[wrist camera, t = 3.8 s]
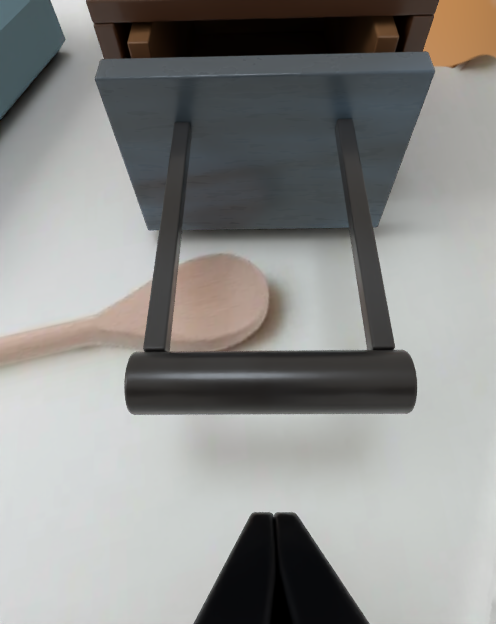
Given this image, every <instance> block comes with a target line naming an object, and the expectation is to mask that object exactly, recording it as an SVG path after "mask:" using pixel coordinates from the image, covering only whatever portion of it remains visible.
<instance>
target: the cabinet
mask: <svg viewBox="0 0 496 624" xmlns="http://www.w3.org/2000/svg"><path fill="white" fill-rule="evenodd" d="M438 2H439V0H86V3H87V6H88V9H89V12H90V16H91V19H92V21H93V23H94V28H95V31H96V35H97V38H98V41H99V44H100V47H101V50H102V53H103V56H104V59H126V58H131V55H130V51H129V48H128V44H127V43H128V39H129V35H130V31H131V27H132V23H133V22H164V21H204V20H243V19H282V18H322V17H361V16H393V19H394V22H395V25H396V28H397V31H398V34H399V39H398V43H397V46H396V50H395V52H423V49H424V45H425V42H426V39H427V36H428V33H429V30H430V27H431V24H432V21H433V18H434V15H433V14H434V13H435V11H436V8H437V5H438Z"/></svg>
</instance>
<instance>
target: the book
mask: <svg viewBox="0 0 496 624" xmlns="http://www.w3.org/2000/svg"><path fill="white" fill-rule="evenodd" d="M64 41H65V37H64V35H63V32H62V29H61V27H60V24H59V22H58V19H57V16H56V14H55V11H54V9H53V6H52V3H51V1H50V0H0V120H1V119H2V117H3V116H4V115H5V114H6V113H7V112H8V110H9V109H10V108H11V107H12V106H13V104H14V103H15V102H16V101H17V100H18V98H19V97H20V96H21V95H22V94H23V93H24V91H25V90H26V89H27V88H28V87H29V85H30V84H31V83H32V82H33V81H34V79H35V78H36V77H37V76H38V75H39V74H40V72H41V71H42V70H43V69H44V68H45V66H46V65H47V64H48V63H49V62H50V60H51V59H52V58H53V57H54V56H55V55H56V53H57V52H58V51H59V49H60V48H61V46H62V44H63V43H64Z"/></svg>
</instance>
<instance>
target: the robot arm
mask: <svg viewBox="0 0 496 624" xmlns="http://www.w3.org/2000/svg"><path fill="white" fill-rule="evenodd" d="M194 624H369V622H368V621H367V619H366V618H365V616H364V615H363V613H362V612H361V610H360V609H359V607H358V606H357V604H356V603H355V601H354V600H353V598H352V597H351V595H350V594H349V592H348V591H347V589H346V588H345V586H344V585H343V583H342V582H341V580H340V579H339V577H338V576H337V574H336V573H335V571H334V570H333V568H332V567H331V565H330V564H329V562H328V561H327V559H326V558H325V556H324V555H323V553H322V552H321V550H320V549H319V547H318V546H317V544H316V543H315V541H314V540H313V538H312V537H311V535H310V534H309V532H308V531H307V529H306V528H305V526H304V525H303V523H302V522H301V520H300V519H299V517H298V516H297V514H295V513H293V512H277V513H275V515H274V516H273V514H272V513H270V512H254V513H252V514H251V515H250V517H249V519H248V521H247V523H246V525H245V527H244V529H243V530H242V532H241V534H240V536H239V538H238V540H237V542H236V544H235V546H234V548H233V549H232V551H231V553H230V555H229V557H228V559H227V561H226V563H225V565H224V567H223V569H222V570H221V572H220V574H219V576H218V578H217V580H216V582H215V584H214V586H213V588H212V590H211V591H210V593H209V595H208V597H207V599H206V601H205V603H204V605H203V607H202V609H201V610H200V612H199V614H198V616H197V618H196V620H195V622H194Z"/></svg>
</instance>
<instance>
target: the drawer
mask: <svg viewBox="0 0 496 624" xmlns="http://www.w3.org/2000/svg"><path fill="white" fill-rule="evenodd" d="M398 39H399V34H398V31H397V28H396V25H395V22H394V19H393V16H361V17H322V18H282V19H243V20H204V21H164V22H133V23H132V27H131V31H130V35H129V39H128V43H127V44H128V48H129V51H130V55H131V58H126V59H101V60H100V63H99V66H98V70H97V73H96V76H95V81H96V84H97V87H98V89H99V92H100V95H101V98H102V101H103V104H104V106H105V109H106V112H107V115H108V118H109V121H110V123H111V126H112V129H113V132H114V135H115V137H116V140H117V143H118V146H119V149H120V152H121V154H122V157H123V160H124V163H125V166H126V169H127V171H128V174H129V177H130V180H131V183H132V186H133V188H134V191H135V194H136V197H137V200H138V202H139V205H140V208H141V211H142V214H143V217H144V219H145V222H146V225H147V228H148V230H159V237H158V244H157V252H156V259H155V266H154V274H153V281H152V288H151V295H150V303H149V310H148V317H147V325H146V332H145V339H144V346H143V349H144V351H145V352H135V353H133V354H132V355H131V356H130V358H129V361H128V364H127V368H126V373H125V386H124V389H125V400H126V405H127V408H128V410H129V412H130V413H131V414H134V415H186V414H407V413H409V412H411V411H412V410H413V408H414V406H415V402H416V396H417V378H416V371H415V367H414V363H413V361H412V358H411V356H410V355H409V353H408V352H406V351H404V350H394V348H395V344H394V339H393V333H392V328H391V323H390V317H389V312H388V306H387V301H386V296H385V290H384V285H383V279H382V274H381V269H380V263H379V258H378V252H377V247H376V242H375V236H374V231H373V227H377V226H378V224H379V221H380V219H381V216H382V213H383V211H384V208H385V205H386V202H387V200H388V197H389V194H390V192H391V189H392V186H393V184H394V181H395V178H396V176H397V173H398V170H399V167H400V165H401V162H402V159H403V157H404V154H405V151H406V149H407V146H408V143H409V140H410V138H411V135H412V132H413V130H414V127H415V124H416V122H417V119H418V116H419V114H420V111H421V108H422V105H423V103H424V100H425V97H426V95H427V92H428V89H429V87H430V84H431V81H432V78H433V76H434V73H435V69H434V66H433V64H432V61H431V58H430V56H429V53H428V52H426V51H425V52H395V50H396V46H397V43H398ZM286 228H349V231H350V237H351V244H352V251H353V258H354V264H355V271H356V278H357V284H358V291H359V298H360V304H361V311H362V318H363V324H364V331H365V338H366V344H367V350H314V351H179V352H169V351H170V341H171V331H172V322H173V312H174V302H175V293H176V283H177V273H178V264H179V254H180V244H181V235H182V230H215V229H286Z"/></svg>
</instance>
